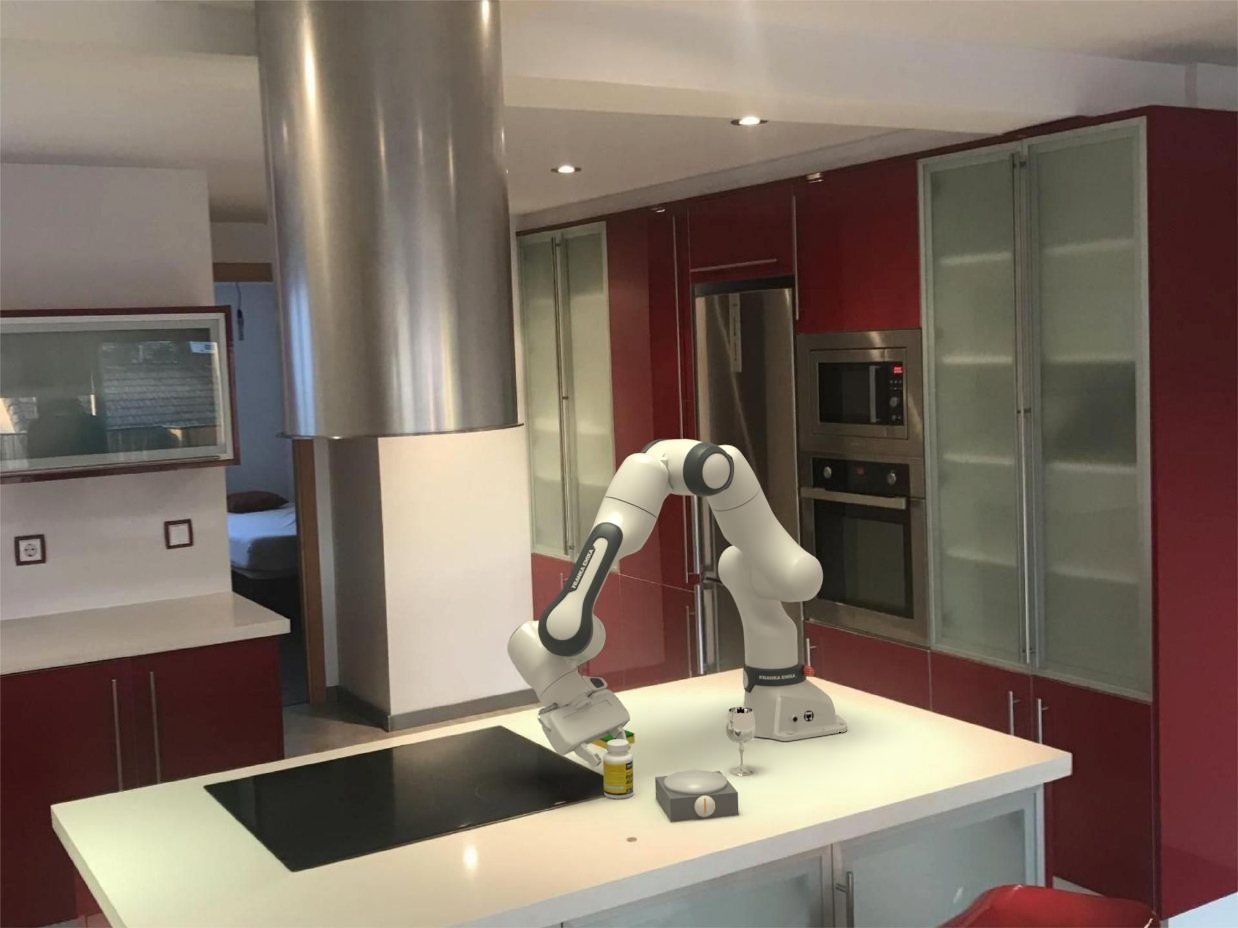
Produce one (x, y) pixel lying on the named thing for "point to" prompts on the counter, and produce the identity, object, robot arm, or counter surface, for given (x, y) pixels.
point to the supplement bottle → (618, 770)
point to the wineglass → (741, 732)
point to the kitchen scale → (696, 795)
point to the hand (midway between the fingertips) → (612, 757)
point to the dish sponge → (604, 740)
